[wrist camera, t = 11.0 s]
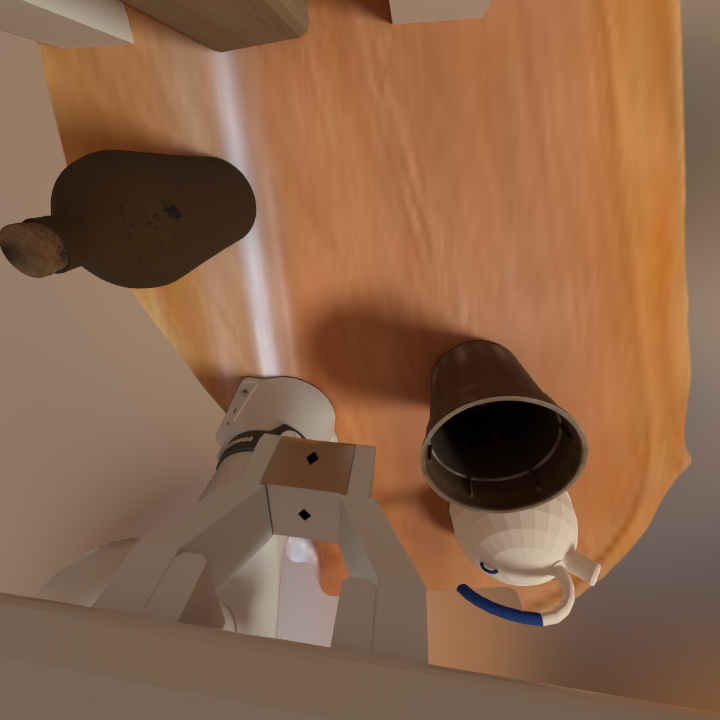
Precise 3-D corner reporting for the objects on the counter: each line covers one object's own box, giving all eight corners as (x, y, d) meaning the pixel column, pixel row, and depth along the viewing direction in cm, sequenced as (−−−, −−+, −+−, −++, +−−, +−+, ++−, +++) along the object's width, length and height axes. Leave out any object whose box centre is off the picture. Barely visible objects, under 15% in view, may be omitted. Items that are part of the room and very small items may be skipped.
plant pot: (495, 300, 44) (532, 366, 31) (560, 384, 49) (619, 475, 35) (394, 369, 51) (388, 449, 37) (461, 438, 56) (477, 531, 42)
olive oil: (204, 127, 39) (-50, 96, 17) (279, 202, 42) (140, 255, 20) (160, 201, 43) (-84, 249, 22) (230, 264, 46) (75, 361, 25)
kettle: (568, 543, 66) (616, 664, 50) (452, 544, 70) (464, 655, 54) (578, 464, 56) (642, 583, 40) (443, 470, 60) (454, 580, 45)
